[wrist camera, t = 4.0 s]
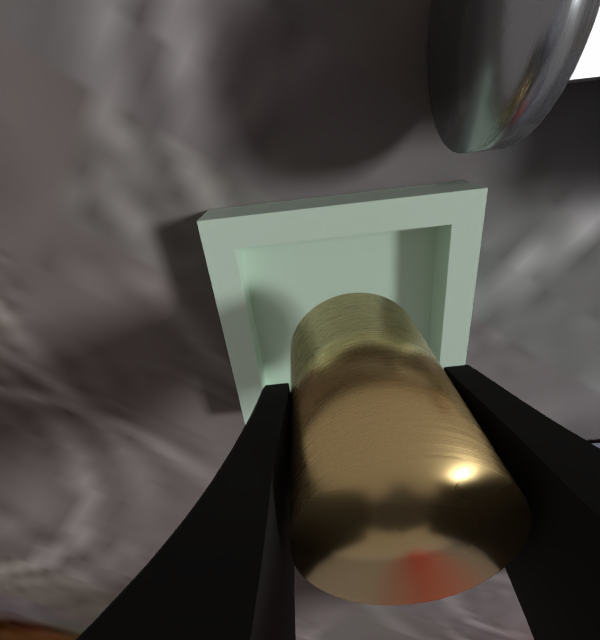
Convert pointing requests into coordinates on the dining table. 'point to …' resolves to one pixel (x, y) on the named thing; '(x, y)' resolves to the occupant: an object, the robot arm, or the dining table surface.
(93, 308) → the dining table surface
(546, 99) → the shaft
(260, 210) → the pale green square tray
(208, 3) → the dining table surface
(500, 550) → the cylinder
